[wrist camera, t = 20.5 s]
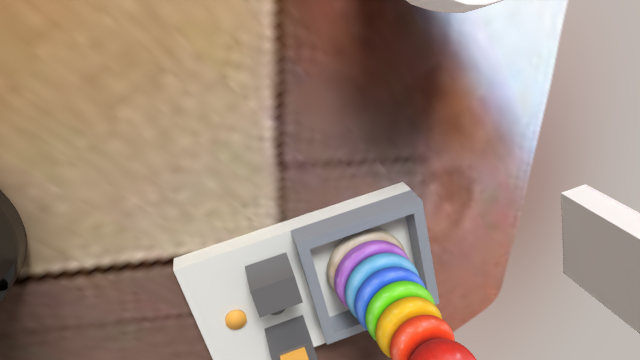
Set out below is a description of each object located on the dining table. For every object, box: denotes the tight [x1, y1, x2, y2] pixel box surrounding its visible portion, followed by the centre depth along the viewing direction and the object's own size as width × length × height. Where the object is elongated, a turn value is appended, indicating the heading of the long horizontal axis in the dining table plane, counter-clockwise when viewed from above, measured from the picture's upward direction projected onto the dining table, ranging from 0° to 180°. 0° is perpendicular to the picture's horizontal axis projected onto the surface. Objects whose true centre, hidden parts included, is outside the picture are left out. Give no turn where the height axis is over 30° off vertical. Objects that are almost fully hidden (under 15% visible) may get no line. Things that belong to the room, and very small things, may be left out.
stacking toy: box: [327, 229, 476, 360], centre depth 41 cm, size 8×8×19 cm
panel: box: [173, 182, 415, 360], centre depth 50 cm, size 23×14×2 cm, turn 104°
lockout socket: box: [291, 190, 439, 345], centre depth 48 cm, size 12×12×2 cm
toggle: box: [245, 252, 303, 318], centre depth 45 cm, size 4×3×4 cm
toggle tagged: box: [265, 315, 318, 360], centre depth 48 cm, size 4×3×5 cm
